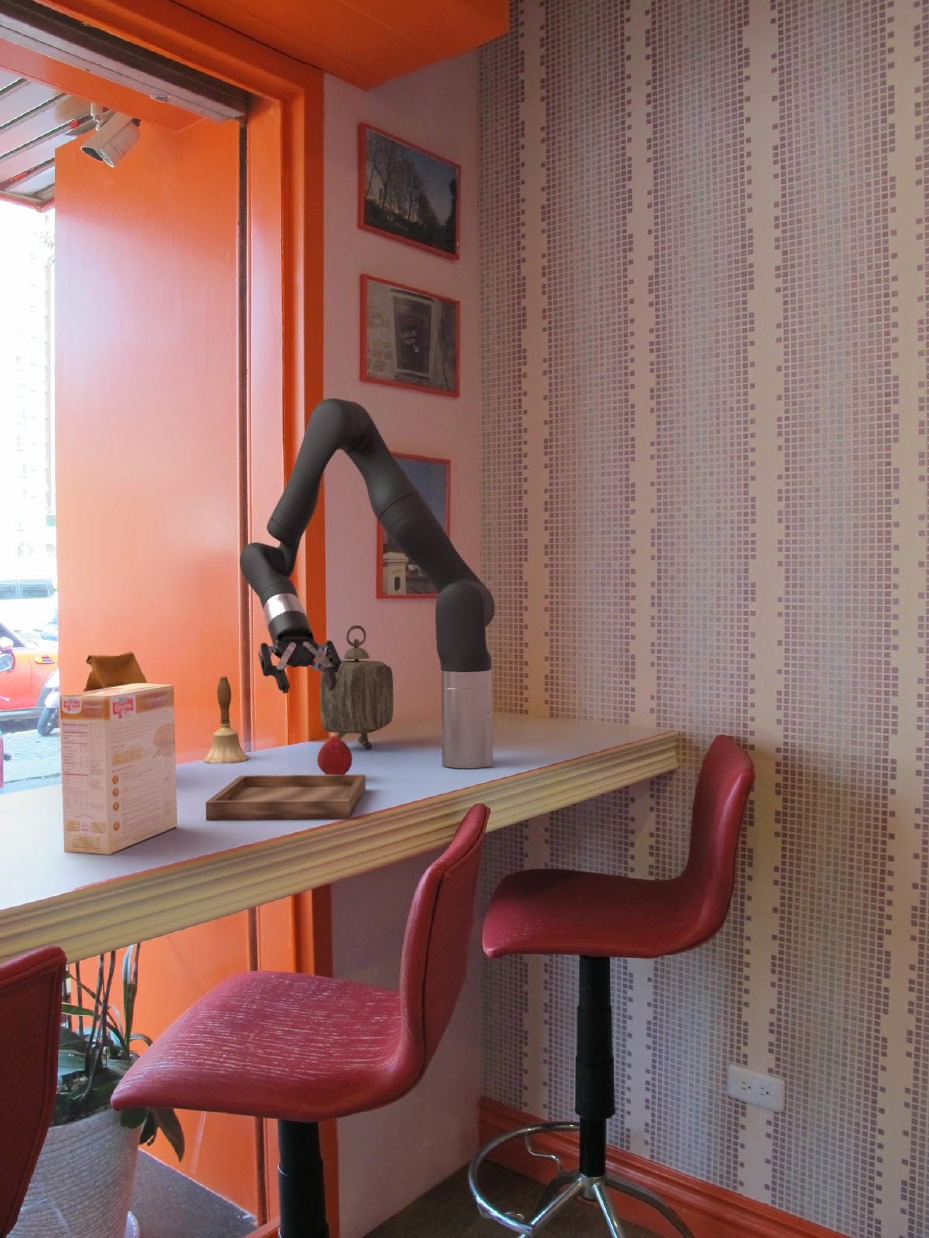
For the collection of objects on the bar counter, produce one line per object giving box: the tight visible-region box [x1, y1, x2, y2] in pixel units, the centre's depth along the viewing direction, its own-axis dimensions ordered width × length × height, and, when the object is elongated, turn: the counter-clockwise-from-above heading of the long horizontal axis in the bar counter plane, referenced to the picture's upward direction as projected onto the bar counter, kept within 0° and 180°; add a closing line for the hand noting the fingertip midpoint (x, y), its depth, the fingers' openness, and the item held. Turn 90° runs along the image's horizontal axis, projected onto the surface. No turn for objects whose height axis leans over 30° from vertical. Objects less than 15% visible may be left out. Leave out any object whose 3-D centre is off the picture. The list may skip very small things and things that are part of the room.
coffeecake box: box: [58, 682, 178, 856], centre depth 126 cm, size 15×7×20 cm, turn 163°
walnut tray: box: [205, 773, 366, 821], centre depth 146 cm, size 20×20×2 cm
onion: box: [316, 732, 353, 775], centre depth 164 cm, size 6×6×8 cm
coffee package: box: [82, 650, 148, 692], centre depth 164 cm, size 10×12×22 cm
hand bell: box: [203, 676, 249, 764], centre depth 186 cm, size 8×8×16 cm
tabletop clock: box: [319, 624, 394, 750], centre depth 198 cm, size 14×9×25 cm, turn 154°
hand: (309, 688), depth 174 cm, fingers open, 8 cm apart
